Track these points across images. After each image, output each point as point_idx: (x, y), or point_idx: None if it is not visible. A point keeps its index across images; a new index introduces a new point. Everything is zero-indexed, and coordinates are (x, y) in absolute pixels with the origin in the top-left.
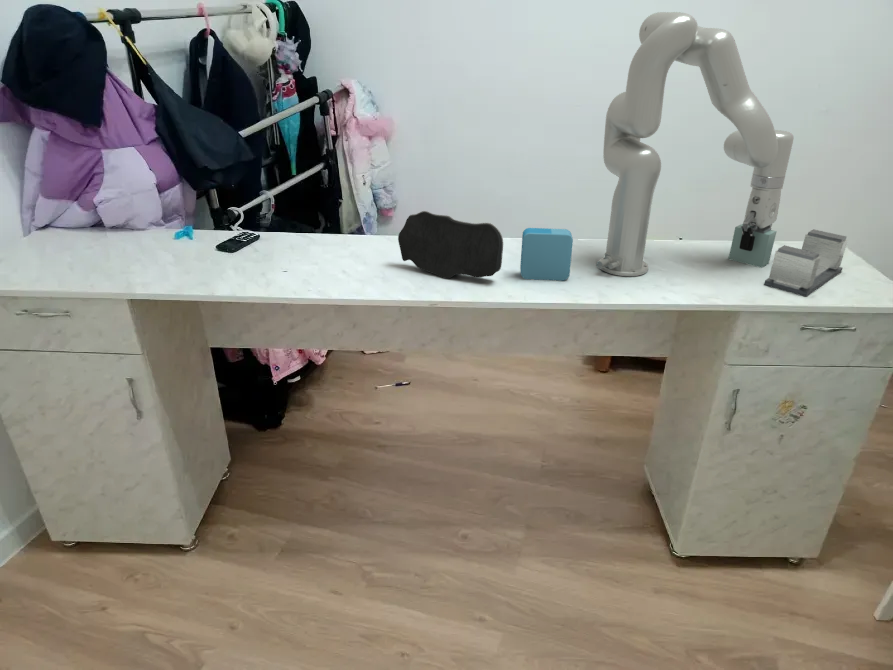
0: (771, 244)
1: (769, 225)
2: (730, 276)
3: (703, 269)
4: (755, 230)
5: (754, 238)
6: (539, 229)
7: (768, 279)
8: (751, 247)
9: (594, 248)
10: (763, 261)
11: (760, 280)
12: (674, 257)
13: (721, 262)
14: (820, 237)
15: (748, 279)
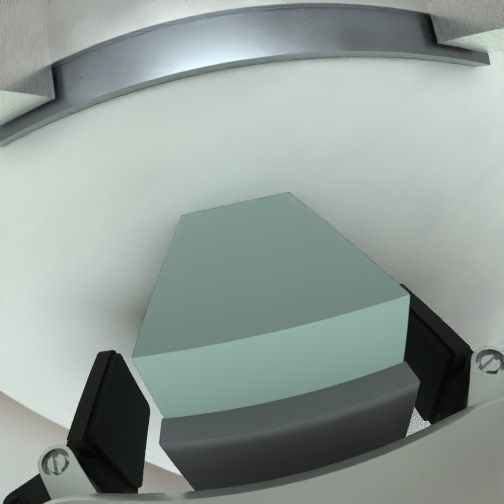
0: (215, 260)
1: (85, 471)
2: (491, 208)
3: (483, 307)
4: (489, 398)
5: (450, 340)
6: None
7: (474, 55)
8: (413, 298)
9: None
10: (292, 201)
11: (451, 96)
12: None
13: None
14: None
15: (475, 140)
